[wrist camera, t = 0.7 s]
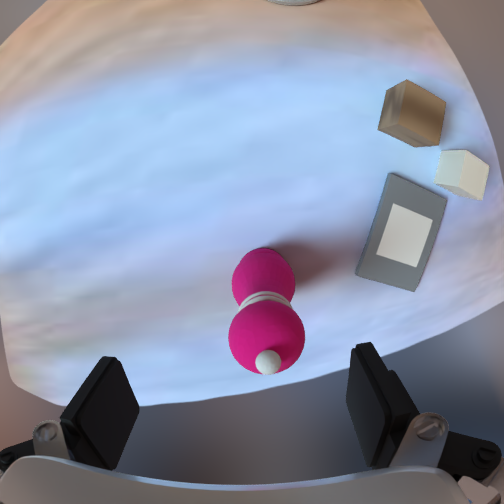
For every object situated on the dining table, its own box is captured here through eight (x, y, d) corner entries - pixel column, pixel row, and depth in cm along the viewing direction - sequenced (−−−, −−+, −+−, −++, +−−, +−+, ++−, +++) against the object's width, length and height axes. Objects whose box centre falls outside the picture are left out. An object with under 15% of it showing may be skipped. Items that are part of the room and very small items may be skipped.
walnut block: (386, 90, 31) (406, 79, 25) (422, 109, 31) (446, 102, 26) (377, 129, 33) (397, 123, 27) (414, 147, 33) (438, 145, 27)
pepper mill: (291, 294, 38) (320, 401, 19) (237, 299, 39) (222, 408, 19) (289, 241, 37) (323, 318, 17) (231, 246, 37) (206, 327, 18)
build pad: (387, 173, 34) (391, 173, 33) (443, 199, 35) (447, 200, 34) (354, 273, 38) (357, 276, 37) (411, 289, 38) (414, 292, 37)
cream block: (440, 150, 33) (466, 149, 27) (464, 164, 33) (489, 166, 27) (433, 183, 34) (458, 186, 28) (456, 195, 34) (481, 200, 29)
